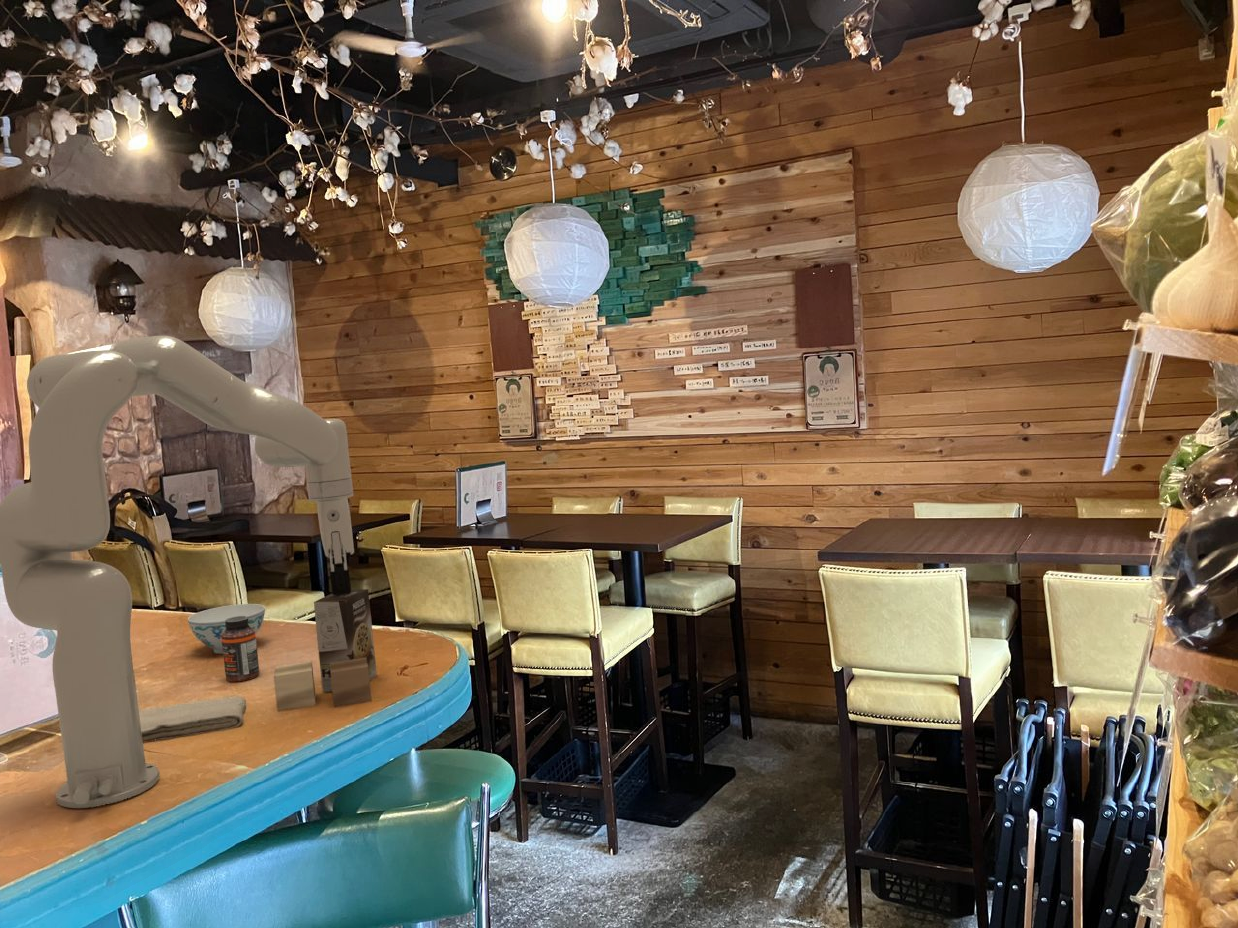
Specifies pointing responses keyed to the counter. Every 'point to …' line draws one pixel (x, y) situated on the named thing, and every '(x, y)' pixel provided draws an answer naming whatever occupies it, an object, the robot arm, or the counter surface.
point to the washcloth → (191, 718)
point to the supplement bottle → (239, 650)
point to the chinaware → (223, 622)
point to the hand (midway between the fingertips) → (341, 592)
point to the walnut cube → (350, 682)
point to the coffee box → (344, 632)
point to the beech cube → (294, 685)
